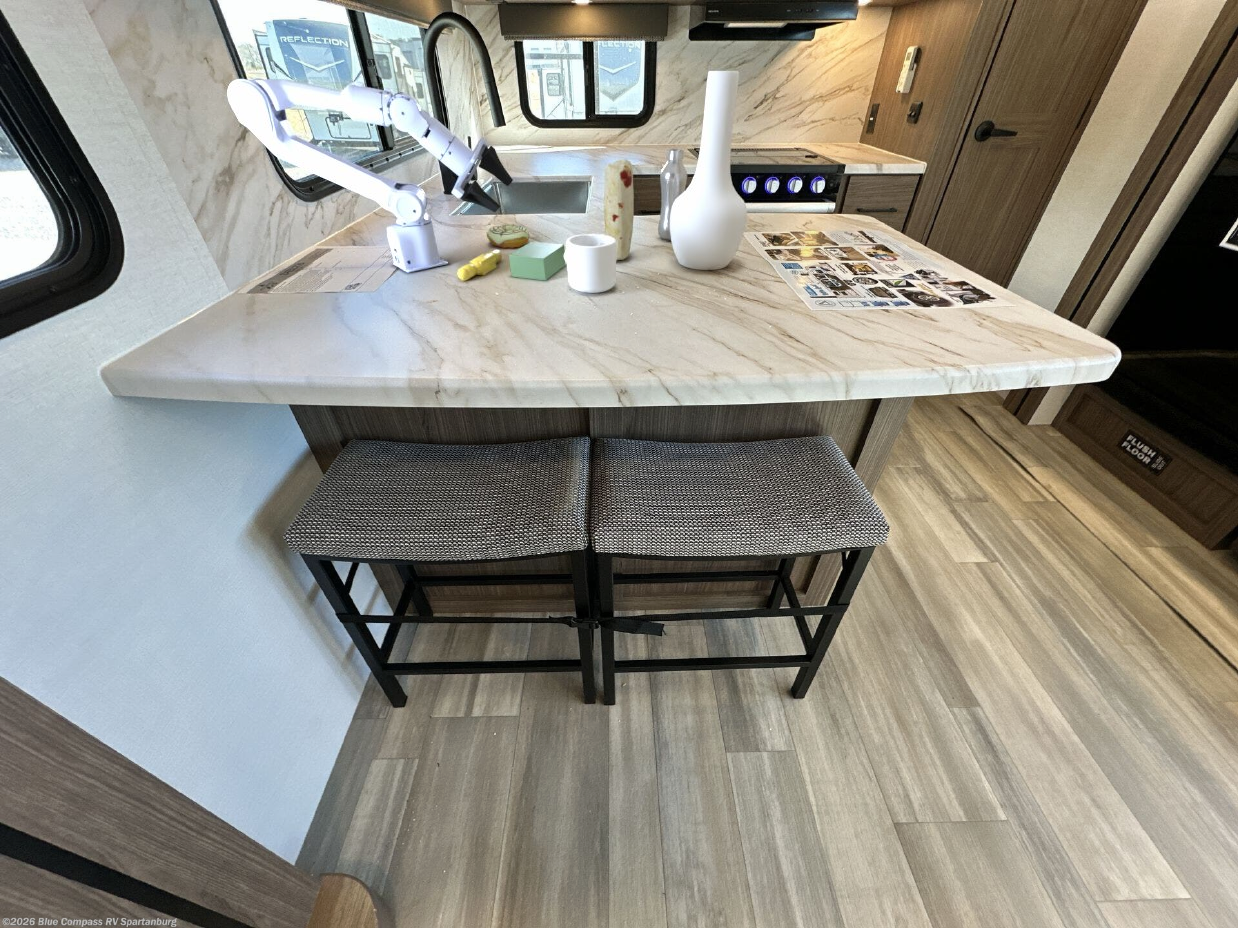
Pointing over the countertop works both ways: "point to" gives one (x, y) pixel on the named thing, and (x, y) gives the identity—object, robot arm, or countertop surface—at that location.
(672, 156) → the plastic bottle
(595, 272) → the mug
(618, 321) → the countertop surface
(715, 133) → the vase
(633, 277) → the countertop surface
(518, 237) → the decorated donut
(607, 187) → the food model
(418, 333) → the countertop surface
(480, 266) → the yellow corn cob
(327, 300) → the countertop surface
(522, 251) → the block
